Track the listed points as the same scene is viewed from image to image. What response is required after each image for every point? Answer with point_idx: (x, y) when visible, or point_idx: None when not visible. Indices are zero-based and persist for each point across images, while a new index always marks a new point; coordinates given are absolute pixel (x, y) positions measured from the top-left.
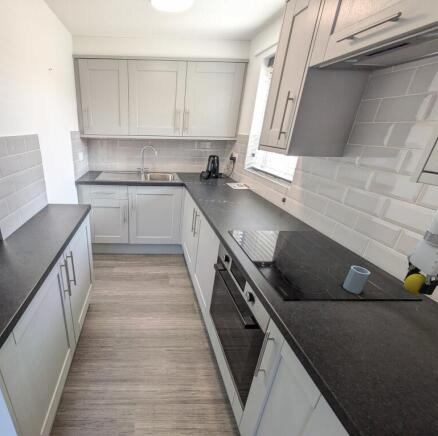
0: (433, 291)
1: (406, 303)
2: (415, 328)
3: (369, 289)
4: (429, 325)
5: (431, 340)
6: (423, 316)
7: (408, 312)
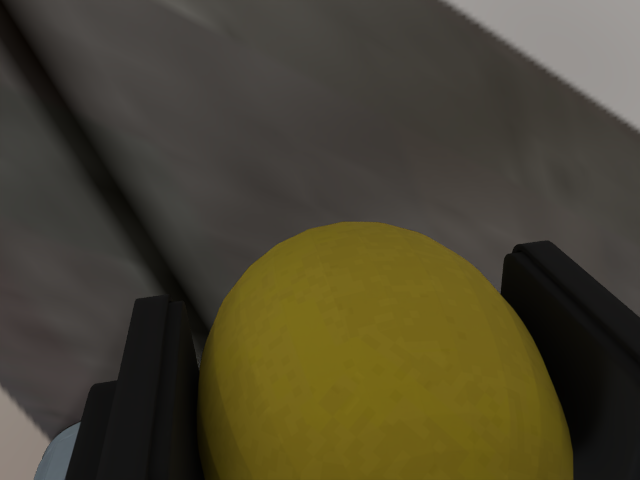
0: (592, 279)
1: (103, 61)
2: (517, 184)
3: (11, 335)
4: (441, 32)
5: (627, 136)
6: (303, 3)
7: (292, 128)
